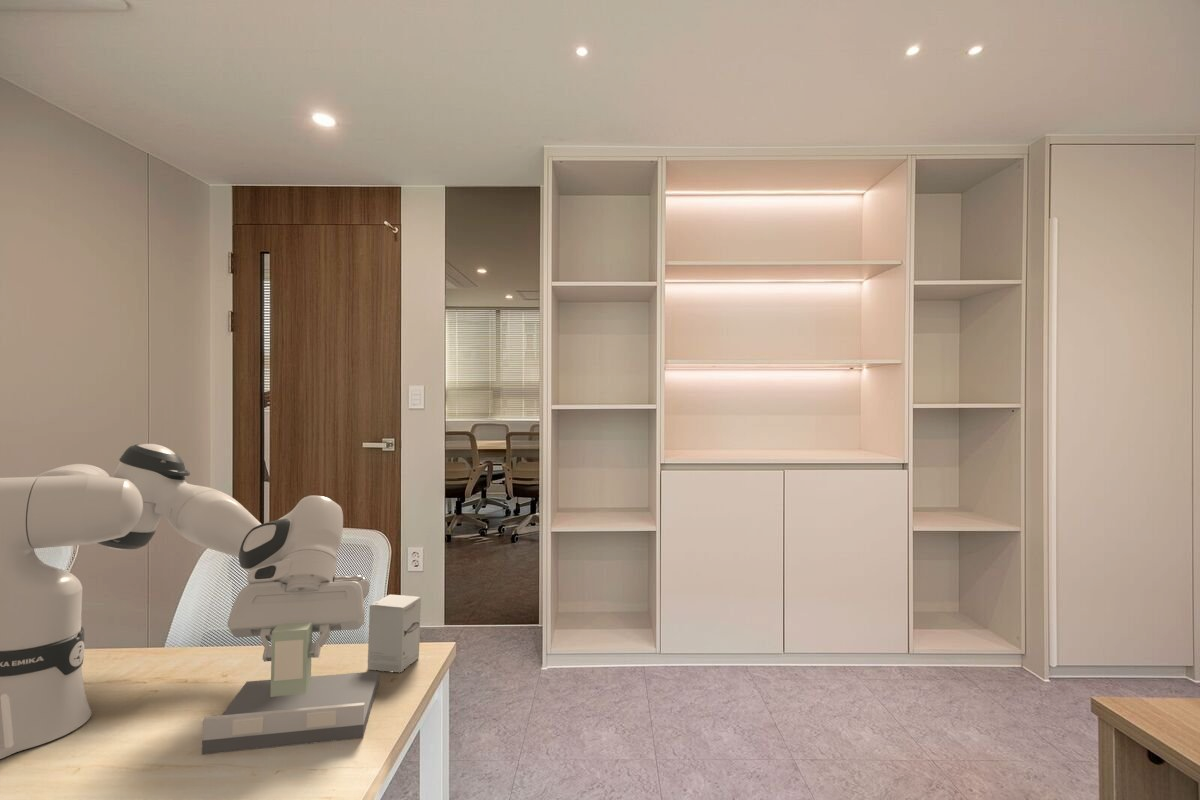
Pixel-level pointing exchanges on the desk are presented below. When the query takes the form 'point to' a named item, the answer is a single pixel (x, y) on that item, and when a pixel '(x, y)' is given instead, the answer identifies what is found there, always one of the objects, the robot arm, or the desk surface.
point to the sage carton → (291, 659)
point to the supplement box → (394, 633)
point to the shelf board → (293, 714)
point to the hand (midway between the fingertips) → (290, 658)
